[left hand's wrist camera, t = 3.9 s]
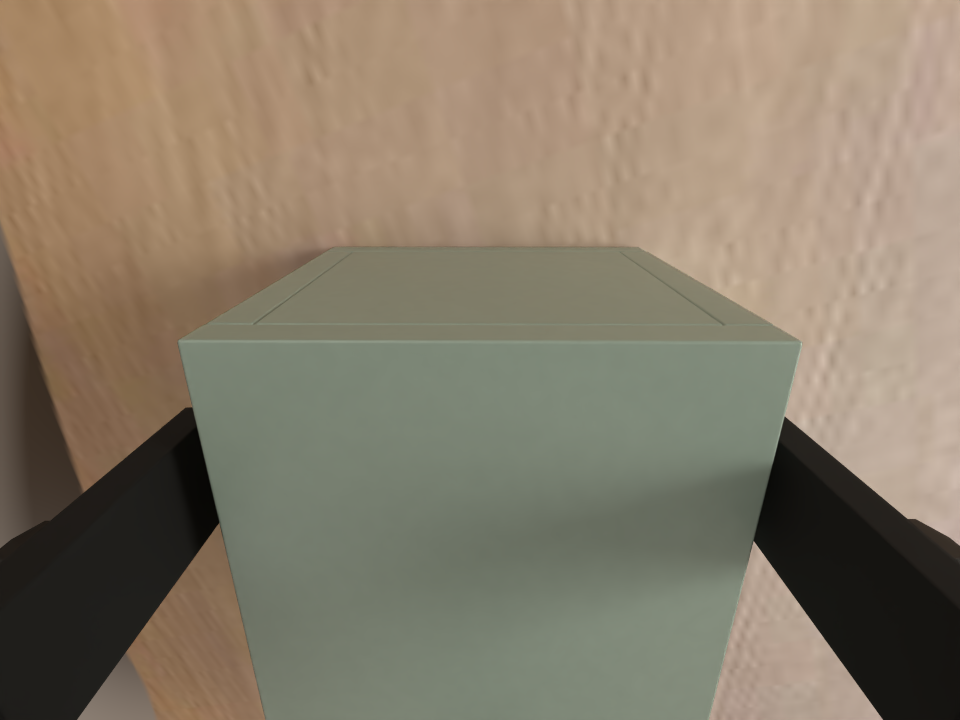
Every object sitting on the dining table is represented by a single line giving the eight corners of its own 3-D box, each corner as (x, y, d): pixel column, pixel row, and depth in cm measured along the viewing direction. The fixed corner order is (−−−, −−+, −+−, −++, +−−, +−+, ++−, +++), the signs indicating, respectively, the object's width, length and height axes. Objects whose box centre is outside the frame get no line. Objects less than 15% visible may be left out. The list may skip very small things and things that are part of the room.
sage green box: (600, 588, 25) (674, 860, 15) (368, 586, 25) (296, 857, 16) (639, 246, 19) (805, 341, 9) (332, 246, 19) (175, 340, 9)
